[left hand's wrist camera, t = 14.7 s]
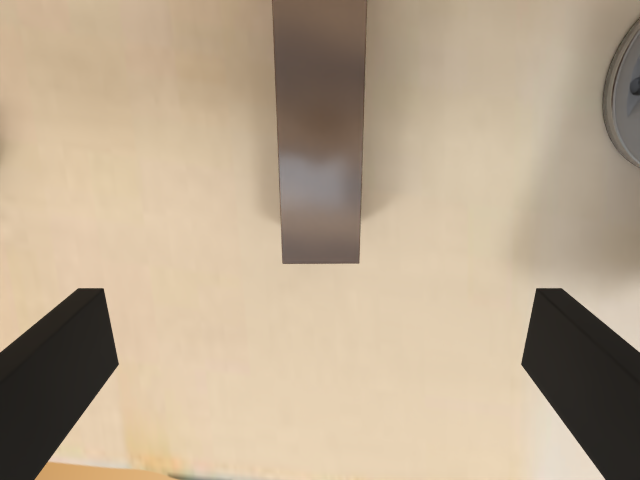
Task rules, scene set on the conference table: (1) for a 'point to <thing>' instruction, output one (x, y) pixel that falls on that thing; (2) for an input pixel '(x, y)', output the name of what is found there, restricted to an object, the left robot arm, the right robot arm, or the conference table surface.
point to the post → (320, 127)
